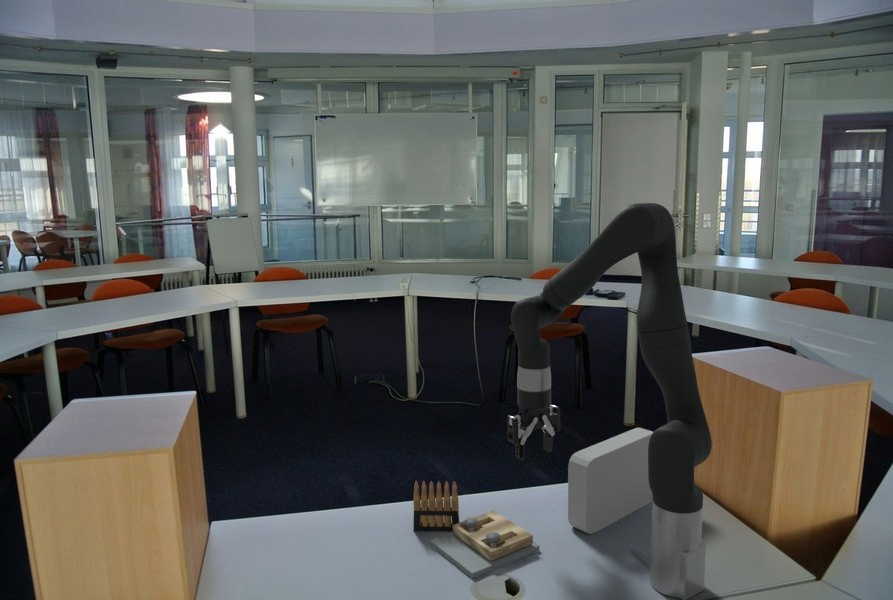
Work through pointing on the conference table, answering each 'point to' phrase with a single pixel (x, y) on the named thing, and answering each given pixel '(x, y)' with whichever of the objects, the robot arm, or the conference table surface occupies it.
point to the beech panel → (496, 523)
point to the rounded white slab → (609, 481)
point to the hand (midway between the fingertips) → (534, 454)
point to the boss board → (476, 552)
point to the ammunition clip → (435, 508)
